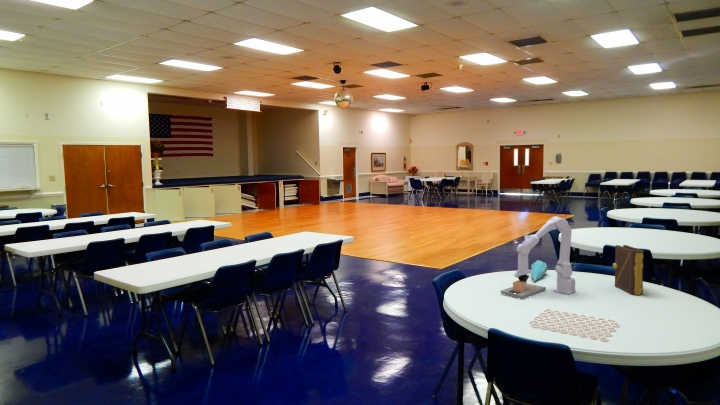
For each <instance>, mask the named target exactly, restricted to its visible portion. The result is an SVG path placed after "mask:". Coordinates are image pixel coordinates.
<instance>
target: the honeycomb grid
mask: <svg viewBox="0 0 720 405" xmlns="http://www.w3.org/2000/svg"><path fill="white" fill-rule="evenodd" d="M543 311H544V312H540V313H539V314H538V315H539V316H535V317H533V319H534V320H529V321H528V323H529V325H530V327H532V328H533V329H540V330H544V331H550V332H553V333H554V332H555V333H558V332H559V333H561V334H564V335H565V334H566V335H567V334H568V335H570V336H579V337H581V338H589V339H591V340H594V341H595V340H596V341H597V340H599V341H601V342H604V343H606V342H607V343H608V342H609V341H610V340H609V339H610V337H613V333H616V332H617V328H620V326H621V324H620V323H619V322H618V321H616V320H614V319H606V318H604V317H596V316H591V315H590V316H588V315H585V314H578V313H570V312H568V311H560V310H558V309H557V310H553V309H551V308H544V310H543ZM607 337H609V338H607Z"/></svg>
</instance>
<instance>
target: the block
mask: <svg viewBox="0 0 720 405" xmlns="http://www.w3.org/2000/svg"><path fill="white" fill-rule="evenodd" d="M526 283H527V282H524V281H519V279H518V280H514V281H513V282H512V287H513V291H518V292H523V291H525V290H526Z"/></svg>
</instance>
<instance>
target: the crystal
mask: <svg viewBox="0 0 720 405" xmlns="http://www.w3.org/2000/svg"><path fill="white" fill-rule="evenodd" d="M547 271H548V265H547V263H546V262H544V261H542V260H539V259H537V260H536V261H535V262H533V263H532V264H531V273H530V274H531V277H532V280H533V282H536V281H537V280H539V279H541V278H542V277H543V276H544V275H545V274H546V273H547Z"/></svg>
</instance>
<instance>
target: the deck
mask: <svg viewBox="0 0 720 405" xmlns="http://www.w3.org/2000/svg"><path fill="white" fill-rule="evenodd" d="M546 290H547V287H546V286H541V285H538V284H537V285H536V284H531V283H529V282H526V290H525V291H523V292H518V291H513V286H511V287H508V288H504V289H502V290H500V293H502V294H505V295H504V296H506V295H509V296H508V297H510V296H512V297H511V298H514V297H516V298H515V299H518V298H520V299H519V300H524V298H525V299H527V298H530V297H532V295H533V296H535V295H537V294H541V293H543V292H545V291H546ZM514 293H516V294H514ZM529 296H530V297H529ZM526 297H527V298H526Z"/></svg>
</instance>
